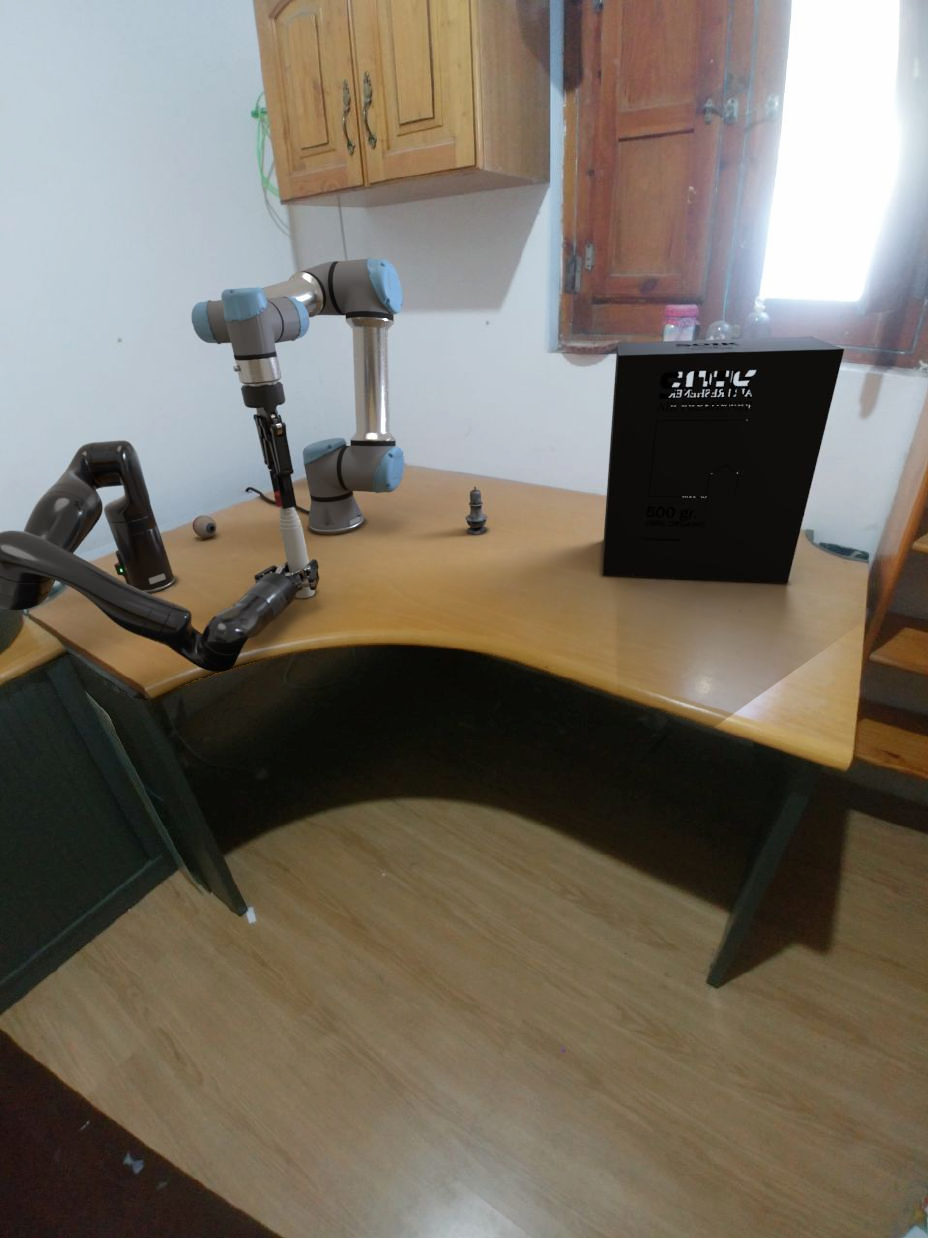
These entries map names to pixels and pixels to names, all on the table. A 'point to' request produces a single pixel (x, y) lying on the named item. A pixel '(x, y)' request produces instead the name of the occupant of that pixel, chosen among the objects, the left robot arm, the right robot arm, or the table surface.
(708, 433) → the cardboard box
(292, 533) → the bottle
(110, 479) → the left robot arm
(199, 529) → the eyeball
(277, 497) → the cap
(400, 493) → the table surface
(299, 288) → the right robot arm
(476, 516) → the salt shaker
